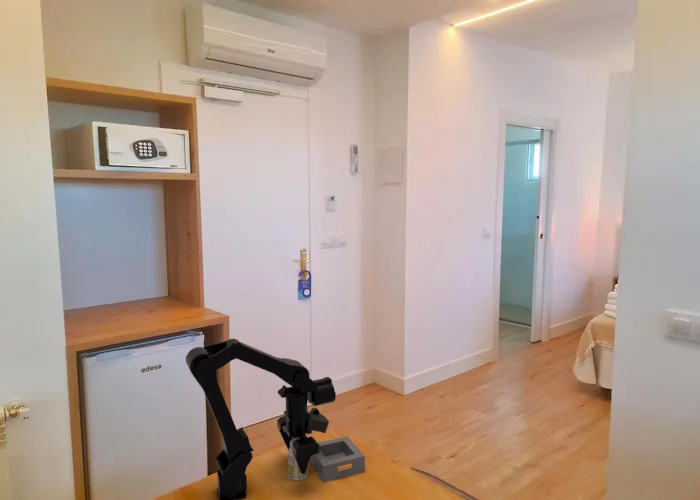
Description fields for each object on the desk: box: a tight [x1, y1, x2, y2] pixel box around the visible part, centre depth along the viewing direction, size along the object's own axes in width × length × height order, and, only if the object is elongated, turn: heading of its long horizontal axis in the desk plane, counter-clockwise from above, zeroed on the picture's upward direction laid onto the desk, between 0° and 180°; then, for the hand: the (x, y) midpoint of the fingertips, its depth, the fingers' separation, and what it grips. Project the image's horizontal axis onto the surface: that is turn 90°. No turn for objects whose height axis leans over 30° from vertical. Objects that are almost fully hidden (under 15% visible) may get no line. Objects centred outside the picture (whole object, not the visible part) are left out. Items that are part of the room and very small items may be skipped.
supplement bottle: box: [287, 438, 309, 481], centre depth 133 cm, size 5×5×10 cm
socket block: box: [309, 435, 366, 483], centre depth 137 cm, size 12×12×4 cm
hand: (298, 464), depth 133 cm, fingers open, 9 cm apart
